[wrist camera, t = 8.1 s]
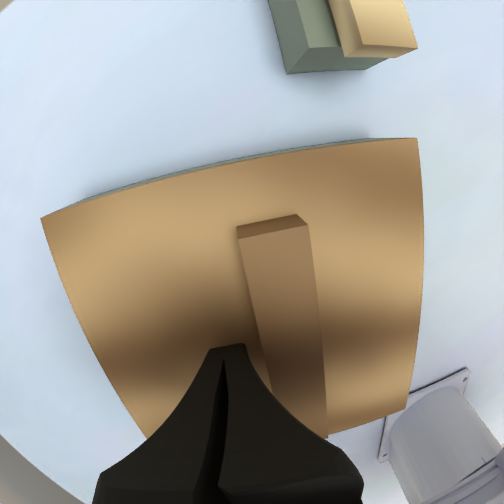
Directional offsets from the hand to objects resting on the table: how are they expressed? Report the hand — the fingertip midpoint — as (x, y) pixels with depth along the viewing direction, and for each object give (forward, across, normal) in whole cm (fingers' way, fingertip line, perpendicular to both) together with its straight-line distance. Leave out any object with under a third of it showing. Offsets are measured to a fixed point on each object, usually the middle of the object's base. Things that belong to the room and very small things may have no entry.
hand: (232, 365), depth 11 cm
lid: (+2, -1, 0) cm, 2 cm away
